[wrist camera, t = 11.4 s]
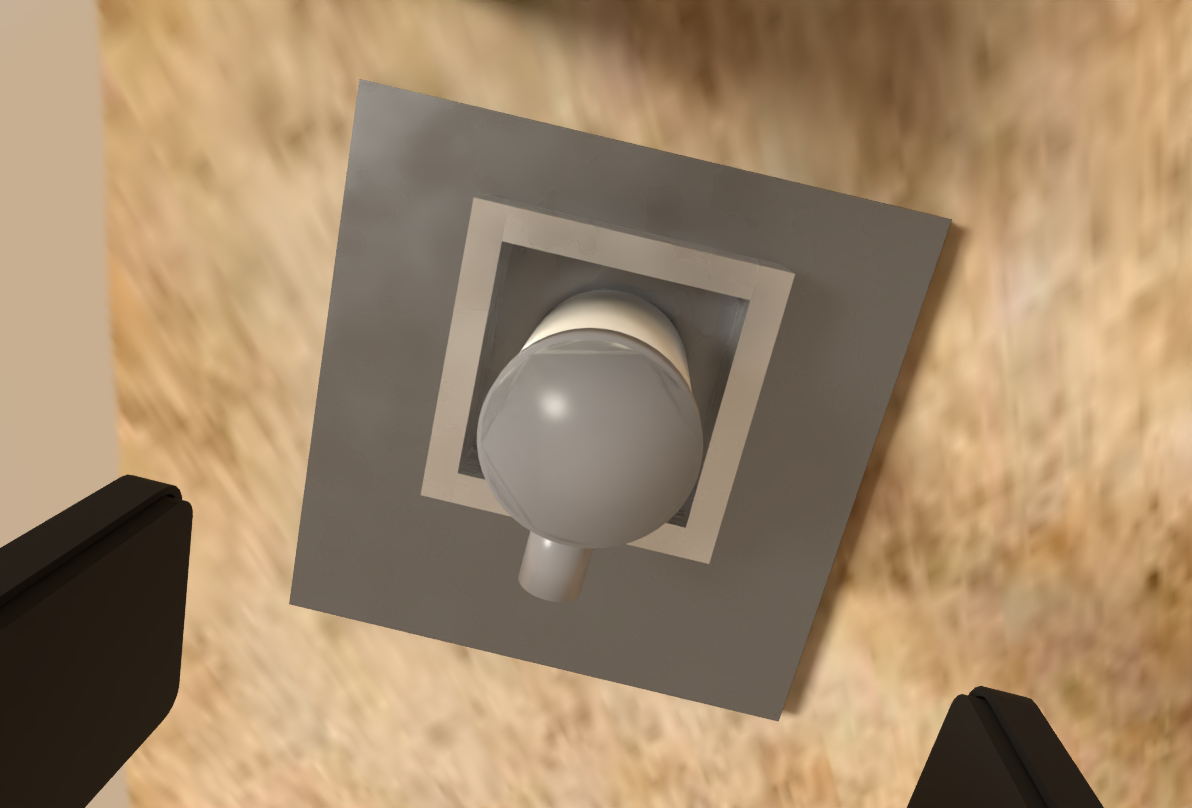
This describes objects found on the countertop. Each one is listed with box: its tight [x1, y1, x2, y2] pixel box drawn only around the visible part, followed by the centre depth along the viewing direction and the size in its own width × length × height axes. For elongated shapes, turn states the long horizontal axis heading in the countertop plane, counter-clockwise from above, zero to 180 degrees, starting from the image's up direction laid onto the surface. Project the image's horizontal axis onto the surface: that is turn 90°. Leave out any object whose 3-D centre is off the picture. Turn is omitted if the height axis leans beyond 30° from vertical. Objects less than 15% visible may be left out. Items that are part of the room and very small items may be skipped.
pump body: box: [477, 290, 703, 602], centre depth 23 cm, size 5×8×7 cm
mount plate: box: [289, 79, 952, 721], centre depth 26 cm, size 18×18×3 cm
